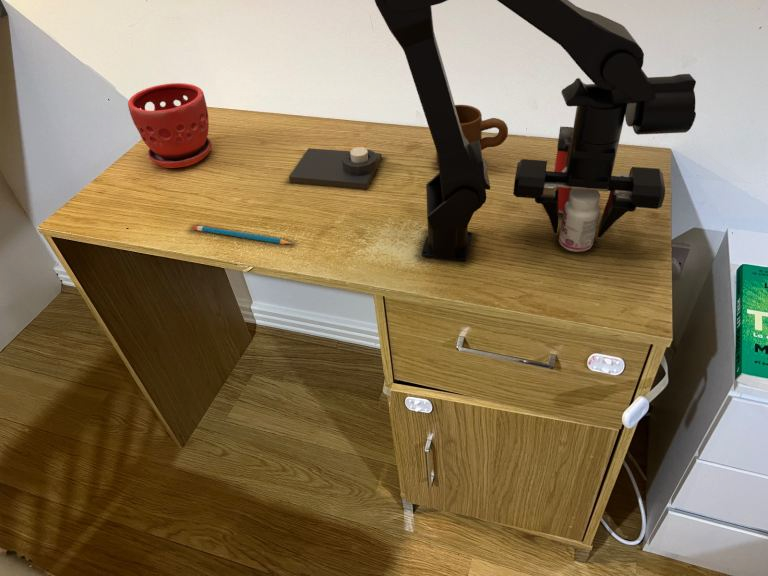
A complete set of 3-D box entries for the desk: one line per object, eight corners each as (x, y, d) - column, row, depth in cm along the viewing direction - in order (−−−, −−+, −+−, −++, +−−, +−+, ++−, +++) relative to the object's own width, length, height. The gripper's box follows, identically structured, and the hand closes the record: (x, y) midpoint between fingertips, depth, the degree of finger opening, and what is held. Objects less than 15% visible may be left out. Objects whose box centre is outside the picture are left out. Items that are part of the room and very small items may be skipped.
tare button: (370, 155, 103) (369, 147, 102) (365, 164, 100) (364, 156, 99) (353, 154, 103) (353, 146, 102) (348, 163, 101) (347, 155, 100)
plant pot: (198, 176, 106) (178, 114, 98) (135, 170, 109) (111, 109, 101) (230, 141, 116) (214, 81, 108) (171, 136, 119) (152, 78, 111)
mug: (508, 158, 104) (513, 108, 98) (501, 181, 99) (505, 129, 92) (442, 151, 107) (442, 102, 101) (431, 173, 102) (430, 122, 96)
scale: (384, 159, 106) (383, 144, 104) (369, 189, 99) (368, 174, 97) (309, 153, 110) (307, 139, 108) (289, 182, 103) (286, 167, 101)
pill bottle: (551, 238, 86) (559, 190, 81) (578, 229, 88) (587, 180, 82) (572, 256, 83) (582, 207, 77) (599, 246, 84) (611, 196, 79)
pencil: (196, 227, 95) (195, 224, 94) (292, 243, 90) (292, 239, 89) (194, 230, 94) (192, 227, 94) (290, 246, 89) (289, 243, 89)
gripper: (670, 108, 77) (643, 207, 88) (525, 101, 82) (516, 196, 92) (679, 151, 70) (648, 254, 80) (518, 141, 74) (508, 240, 84)
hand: (577, 233), depth 84 cm, fingers open, 6 cm apart
